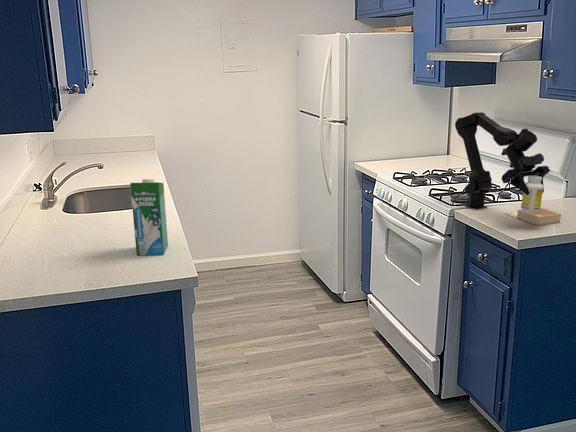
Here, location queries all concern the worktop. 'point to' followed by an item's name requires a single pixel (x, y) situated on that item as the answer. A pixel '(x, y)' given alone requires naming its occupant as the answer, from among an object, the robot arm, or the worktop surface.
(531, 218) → the mailer box
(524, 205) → the supplement bottle
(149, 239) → the milk carton
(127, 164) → the worktop surface
